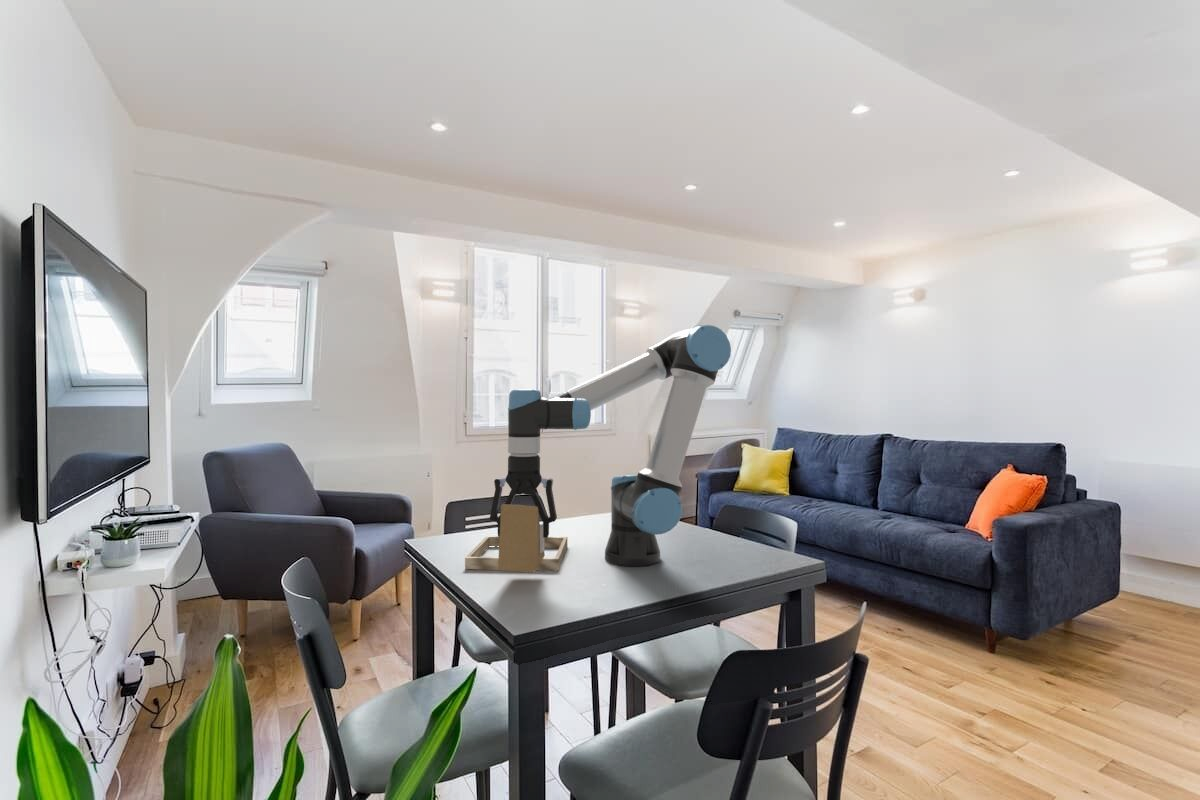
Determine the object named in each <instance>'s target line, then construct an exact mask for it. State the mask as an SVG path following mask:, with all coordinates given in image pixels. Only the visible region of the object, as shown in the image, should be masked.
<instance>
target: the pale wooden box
mask: <svg viewBox="0 0 1200 800" xmlns="http://www.w3.org/2000/svg"><path fill="white" fill-rule="evenodd" d="M499 540H500V537H498V535H497V536H496V535H486V536H485V537H484V539H482V540H481V542H479V543H478V544H477V545H476V546H475V547H474V548H473V549H472V550H471V551H470V552H469V553H468V554H467V556H465V557H464V570H466V569H486V570H485V571H499V570H498V560H499V556H483V555H482V554H483V553H484V554H485V552H486V551H487V550H488V549H489V548H490V547H489V546H499ZM488 547H489V548H488ZM487 548H488V549H487ZM486 549H487V550H486ZM544 549H558V550H557V551H556V555H555V557H544V558H543V559H542V561H541V563H540V564H539V566H538V567H537V568H536V570H560V567H561V565H562V562H563V559H564V557H565V554H566V552H567V549H568V537H567V536H548V537H547V538H544ZM485 550H486V551H485ZM481 555H482V556H481ZM480 556H481V557H480Z"/></svg>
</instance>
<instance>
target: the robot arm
mask: <svg viewBox="0 0 1200 800" xmlns="http://www.w3.org/2000/svg"><path fill="white" fill-rule="evenodd" d="M731 353H732V348H731V341H730V340H729V338H728V336H727V334H726V333H725V332H724V330H722V329H721V328H719V327H717V326H715V325H711V324H700V325H699V324H698V325H696V326H694V327H691V328H687V329H683V330H679V331H677V332H675V333H673V334H671V335H670V336H668V337H666V338H665V339H663V340H662V341H660V342H658V343H656V344H655V345H652V346H650V347H648V348H647V349H646V352H645V353H643V354H642V355H640V356H638V357H636V358H634V359H632V360H630V361H627V362H625V363H623V364H621V365H619V366H617V367H615V368H612V369H610V370H607V371H605V372H604V373H602V374H599V375H597V376H596V377H593V378H591V379H588V380H586V381H584V382H582V383H581V384H579V385H576V386H574V387H572V388H570V389H567V390H566V391H564V392H562V393H559V394H558V395H555V396H553V397H548V398H547V397H542V394H541V390H539V389H522V388H521V389H513V390H511V391H510V392H509V395H508V407H507V410H508V412H507V414H508V415H507V416H508V418H507V423H508V427H507V428H508V430H507V431H508V438H507V453H508V454H510V455H508V457H507V475H506V476H505V477H497V478H495V479H494V482H493V483H494V489H495V490H494V494H493V500H492V503H491V511H490V514H489V520H490V521H493V522H496V523H497V536H498V537H500V520H501V513H500V514H499V510H500V509H499V508H500V503H501V498H502V493H503V487H505V485H506V483H507V485H508V486H509V488H510V492H509V493H508V497H507V499H506V501H505V503H504V504H512V505H513V501H514V499H515V497H516V496H518V495H519V496H520V495H526V496H527V495H528V496H529V495H530V497H531V499H532V500H533V502H534V506H537V507H538V512H539V518H541V521H542V522H540V553H543V551H544V552H545V548H544V538H547V537H549V535H550V523H554V522H555V521H556V520H557V519H558V517H557V512H556V511H557V510H556V503H555V498H554V493H553V484H554V480H553V478H546V477H545V478H544V477H543V476H542V474H541V456H540V455H538V454H540V453H541V430H574V431H576V430H584V429H587V428H588V427H589V425H590V422H591V416H592V414H591V411H593V410H595V409H598V408H600V407H601V406H604V405H606V404H608V403H609V402H611V401H614V400H615V399H618V398H620V397H622V396H624V395H627V394H629V393H630V392H632V391H635V390H636V389H638V388H640V387H643V386H645V385H647V384H649V383H651V382H654V381H655V380H657V379H659V380H661V381H664V380H666V379H668V378H670V377H673V381H672V384H671V387H670V391H669V392H668V393H669V394H668V397H667V400H666V403H665V406H664V409H663V413H662V416H661V419H660V423H659V425H658V428H657V432H656V435H655V438H654V442H653V444H652V448H651V452H650V454H649V457H648V460H647V464H646V466H645V468H642V469H641V470H639V471H638V472H637V474H633V475H632V474H631V475H629V474H627V475H615V476H613V477H612V479H611V486H610V491H611V493H610V494H611V498H610V499H611V501H610V503H611V504H610V505H611V506H610V507H611V517H610V518H611V523H610V524H611V525H610V526H611V528H610V529H611V530H610V534H609V537H608V541H607V543H606V547H605V550H604V560H605V561H606V562H607V563H611V564H613V565H616V566H617V565H618V566H625V567H646V566H651V565H655V564H657V563H659V562H660V561H661V549H660V546H659V543H658V539H657V537H656V535H663V534H666V533H668V532H670V531H672V530H673V529H674V528H675V527H676V526H677V525H678V523H680V520H681V518H682V513H683V504H682V502H681V499H680V495H681V492H682V489H683V484H682V482H681V480H680V475H681V471H682V468H683V465H684V462H685V458H686V455H687V452H688V449H689V445H690V443H691V439H692V435H693V432H694V430H695V426H696V422H697V420H698V416H699V413H700V409H701V407H702V403H703V401H704V397H705V394H706V391H707V389H708V388H709V387H711V386H712V385H714V384H715V382H716V378H717V376H718V372H719V370H721V369H723V368H724V367H725V366H726V365H727V364H728V362H729V360H730V357H731V355H732V354H731ZM541 484H542V486H543V488H544V489H545V496H546V502H547V507H548V513H549V515H548V514H547V511H546V508H545V506H544V504H543V502H542V499H541V497H540V493H539V492H538V487H539V486H540V485H541ZM498 514H499V515H498Z"/></svg>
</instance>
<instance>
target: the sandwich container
mask: <svg viewBox="0 0 1200 800" xmlns="http://www.w3.org/2000/svg"><path fill="white" fill-rule="evenodd" d="M500 514H501V520H500V540H499V547H498V557H499V560H498V570H497V571H509V572H510V571H511V572H521V573H535V570H536V568H537V567H538V566H539V564H540V563H541V561H542V559H543V558H545V550H544V551H543V553H540V524H541V522H540V514H539V512H538V507H537V506H536V505H527V504H526V505H525V504H513V503H512V504H505V503H501V506H500Z"/></svg>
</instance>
